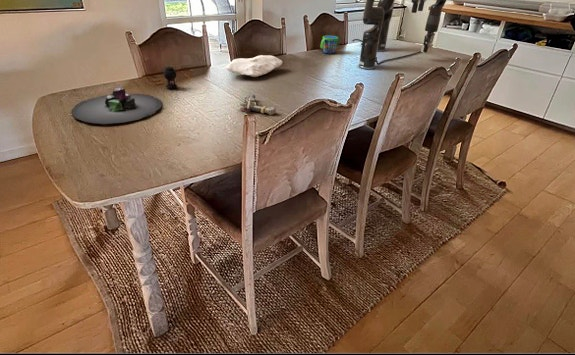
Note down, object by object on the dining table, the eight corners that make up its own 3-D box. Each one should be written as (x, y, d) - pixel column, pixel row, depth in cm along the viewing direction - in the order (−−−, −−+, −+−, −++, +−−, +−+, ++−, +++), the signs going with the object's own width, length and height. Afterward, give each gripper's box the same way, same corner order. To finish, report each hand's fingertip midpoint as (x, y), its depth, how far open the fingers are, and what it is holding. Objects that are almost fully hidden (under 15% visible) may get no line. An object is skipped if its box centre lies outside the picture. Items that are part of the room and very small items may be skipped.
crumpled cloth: (213, 69, 198) (213, 53, 192) (266, 60, 216) (267, 45, 210) (236, 88, 185) (236, 71, 179) (290, 76, 203) (292, 61, 197)
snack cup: (333, 49, 252) (334, 34, 247) (343, 53, 245) (344, 37, 239) (315, 52, 245) (316, 36, 239) (324, 55, 237) (326, 39, 232)
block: (420, 52, 234) (422, 44, 231) (423, 50, 237) (425, 42, 235) (428, 53, 231) (430, 45, 229) (431, 52, 235) (433, 44, 232)
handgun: (275, 94, 165) (242, 93, 164) (275, 109, 150) (239, 108, 149) (275, 100, 167) (242, 99, 166) (275, 115, 152) (239, 114, 151)
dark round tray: (174, 113, 149) (170, 91, 144) (79, 131, 131) (72, 107, 127) (148, 93, 173) (144, 73, 169) (65, 106, 156) (59, 85, 151)
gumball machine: (165, 90, 172) (162, 69, 166) (163, 86, 176) (159, 65, 171) (180, 88, 175) (177, 67, 169) (177, 85, 179) (174, 64, 174)
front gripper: (428, -27, 155) (419, 14, 164) (438, -28, 165) (429, 11, 174) (411, -28, 159) (403, 12, 168) (422, -29, 169) (414, 9, 177)
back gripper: (435, 25, 218) (428, 54, 227) (442, 22, 228) (435, 50, 237) (423, 23, 222) (416, 52, 231) (430, 20, 232) (423, 48, 241)
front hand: (417, 11), depth 171 cm, fingers open, 8 cm apart
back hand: (426, 51), depth 234 cm, fingers closed on block, 5 cm apart
